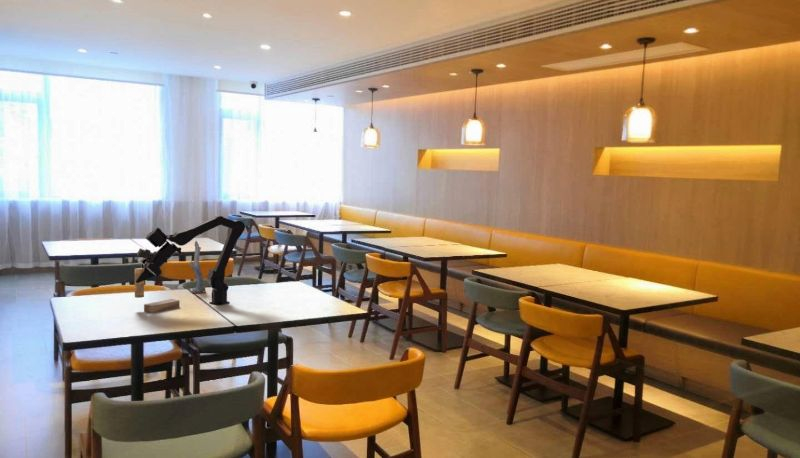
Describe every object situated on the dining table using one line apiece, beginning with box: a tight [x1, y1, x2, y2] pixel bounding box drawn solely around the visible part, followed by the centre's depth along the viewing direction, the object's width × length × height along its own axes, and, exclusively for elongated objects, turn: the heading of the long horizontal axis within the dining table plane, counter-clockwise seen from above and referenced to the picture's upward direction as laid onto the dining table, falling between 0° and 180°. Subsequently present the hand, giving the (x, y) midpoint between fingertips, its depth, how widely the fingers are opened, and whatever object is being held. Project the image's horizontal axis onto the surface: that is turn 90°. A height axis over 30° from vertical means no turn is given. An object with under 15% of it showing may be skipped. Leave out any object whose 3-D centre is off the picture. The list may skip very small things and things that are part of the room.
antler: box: [189, 240, 207, 294], centre depth 286 cm, size 12×8×25 cm
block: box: [143, 298, 180, 314], centre depth 247 cm, size 5×14×3 cm, turn 151°
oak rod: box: [134, 267, 145, 299], centre depth 244 cm, size 4×4×12 cm
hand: (135, 281), depth 243 cm, fingers closed on oak rod, 4 cm apart
